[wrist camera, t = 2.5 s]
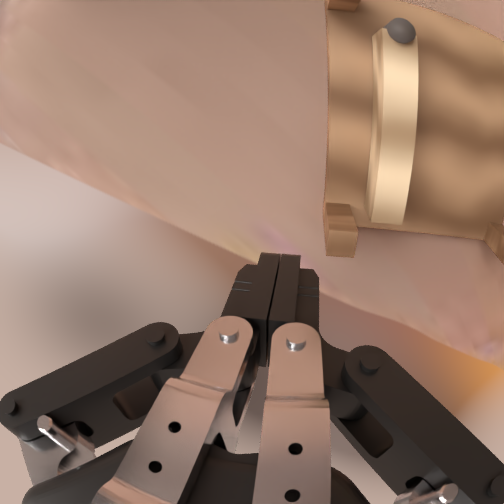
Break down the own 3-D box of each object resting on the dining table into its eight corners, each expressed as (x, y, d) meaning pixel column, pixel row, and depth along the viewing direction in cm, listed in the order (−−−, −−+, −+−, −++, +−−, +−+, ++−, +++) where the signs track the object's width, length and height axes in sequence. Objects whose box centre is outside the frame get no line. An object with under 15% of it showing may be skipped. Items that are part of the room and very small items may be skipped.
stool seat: (324, -4, 14) (329, -37, 9) (509, 51, 11) (552, 51, 5) (322, 214, 25) (326, 255, 19) (487, 232, 22) (519, 269, 16)
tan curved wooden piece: (371, 26, 14) (383, 13, 11) (402, 32, 13) (419, 22, 10) (364, 205, 22) (372, 226, 18) (391, 208, 21) (404, 229, 18)
